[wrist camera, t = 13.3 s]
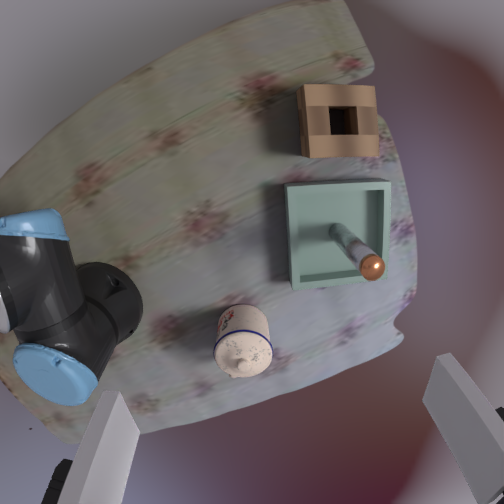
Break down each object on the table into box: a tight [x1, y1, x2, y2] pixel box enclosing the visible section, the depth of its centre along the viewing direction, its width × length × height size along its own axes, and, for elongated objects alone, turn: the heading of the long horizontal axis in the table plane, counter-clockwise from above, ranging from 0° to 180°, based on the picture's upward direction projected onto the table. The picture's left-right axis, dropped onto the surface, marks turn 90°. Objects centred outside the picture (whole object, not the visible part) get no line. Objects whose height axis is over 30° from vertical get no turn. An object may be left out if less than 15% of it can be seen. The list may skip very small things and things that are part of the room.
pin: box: [329, 223, 385, 281], centre depth 41 cm, size 3×3×15 cm
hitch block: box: [296, 84, 379, 158], centre depth 41 cm, size 10×10×6 cm
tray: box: [284, 179, 391, 290], centre depth 48 cm, size 16×16×4 cm
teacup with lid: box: [214, 305, 273, 378], centre depth 50 cm, size 12×9×12 cm
